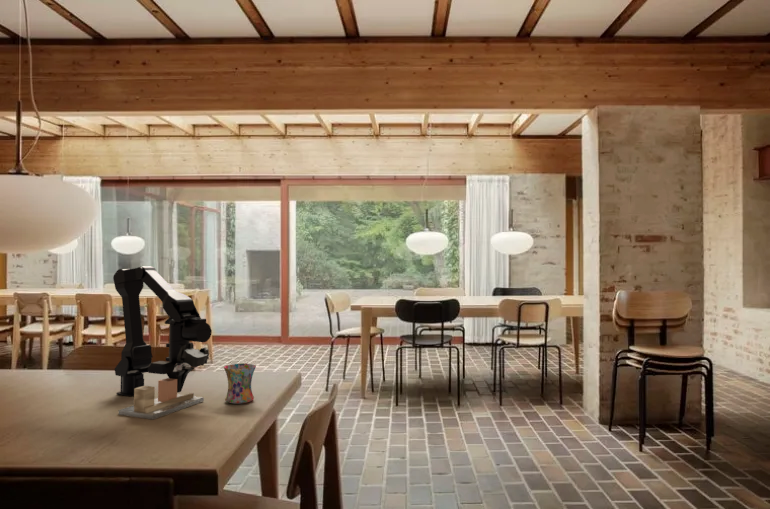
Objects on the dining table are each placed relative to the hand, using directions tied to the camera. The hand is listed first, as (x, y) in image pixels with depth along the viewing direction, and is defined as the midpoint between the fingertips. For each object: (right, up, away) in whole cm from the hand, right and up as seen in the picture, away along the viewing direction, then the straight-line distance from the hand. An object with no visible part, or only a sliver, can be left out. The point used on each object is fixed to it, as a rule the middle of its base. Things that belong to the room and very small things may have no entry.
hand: (178, 392), depth 157 cm
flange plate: (-2, -3, -6) cm, 7 cm away
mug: (+17, -4, +3) cm, 18 cm away
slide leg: (-2, -1, -4) cm, 5 cm away
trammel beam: (-2, -2, -6) cm, 6 cm away
